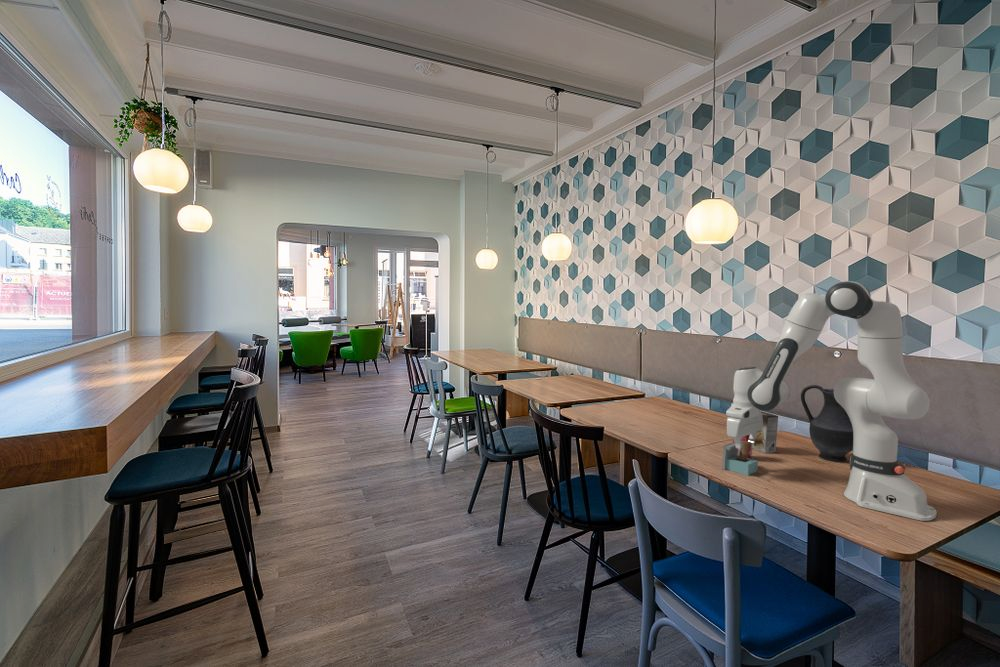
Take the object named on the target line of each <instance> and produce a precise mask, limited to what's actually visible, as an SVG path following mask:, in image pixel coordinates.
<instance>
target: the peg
mask: <svg viewBox="0 0 1000 667" xmlns="http://www.w3.org/2000/svg"><path fill="white" fill-rule="evenodd" d="M749 447H750V442H748V441H743V442H742V448H741V451H740V455H739V459H738V461H742V462H746V459H747V455H748V451H749Z"/></svg>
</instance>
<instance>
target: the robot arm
mask: <svg viewBox="0 0 1000 667" xmlns="http://www.w3.org/2000/svg"><path fill="white" fill-rule="evenodd" d="M900 310H901V309H900V308H899V306H897V305H896V304H894V303H892V302H889V301H883V300H882V301H878V300H874V299H872V297H871V292H870V290H869V289H868V288H867V287H866V286H865V285H864V284H861V283H859V282H857V281H851V280H847V281H841V282H838V283H835V284H834V285H832V286H831V287H830V288H828V290H827V291H826V294H820V293H816V292H808V293H804V294H802V295H800V297H799V298H798V299H797V300H796V302H794V304H793V306H792V308H791V309H790V311H789V313H788V314H787V316H786V319H785V322H784V324H783V326H782V329H781V331H780V334H779V337H778V340H777V342H776V345H775V348H774V350H773V352H772V354H771V356H770V358H769V360H768V362H767V364H766V366H765V367H764V370H763V371H762V370H761V369H760V368H758V367H757V366H746V367H745V366H744V367H741V368H738V369H736V371H735V372H734V375H733V385H732V386H733V387H732V389H733V395H734V396H733V399H732V404H731V406H730V407H729V408H728V409H727V410H726V412H725V415H726V417H727V419H726V434H727V436H728V438H730V439H731V438H732V439H733V438H734V441H735V443H736V448H738V449H740V448H742V443H741V437H744V436H746V435H749V434H750V437H749V439H748V442H750V444H753V443H755V438H756V435H757V432H758V431H760V430H762V428H763V418H762V413H761V412H760V411H764V412H765V411H770V410H773V409H775V408H776V407H777V406H778V405H781V404H782V403H783V402H785V401H786V400H787V399H788V398H789V396H790V395H791V394H790V392H791V388H790V386H789V385H788V383H787V382H786V381H785V380H784V379H785V376H786V375H787V373H788V371H789V370H790V367H791V365H792V364H793V363H794V361H795V360H796V359H797V358H798V357H800V356H801V355H802V354H803V353H806V351H808V350H810V349H811V348H812V347H813V345H814V344H815V343H816V342H817V340H818V339H819V337H820V335H821V333H822V331H823V328H824V327H825V325H826V322H828V320H829V319H830V317H831V316H834V315H837V316H838V315H839V316H840V317H846V318H849V319H854V320H855V321H856V322H857V355H856V356H857V360H858V363H860V365H861V366H863V367H864V368H866V369H868V370H869V371H870V373H871V374H872V376H873V378H867V377H866V378H865V377H861V376H860V377H857V376H856V377H852V376H851V377H844V378H843V377H842V378H840V379H839V380H838V381H837V383H836V384H835V385H834V388H833V389H834V397H835V399H836V401H837V402H838V403H839V404H840V405H841V406H842V407H843V408H844V410H845V411H846V413H847V414H848V416H849V418H850V421H851V424H852V427H853V450H852V452H850V453H851V454H850V457H849V470H850V473H849V478H848V482H847V485H846V487H845V490H844V492H843V495H844V497H845V498H847V499H848V500H850V501H852V502H854V503H855V504H856V505H858V506H859V507H861V508H866V509H870V510H874V511H878V512H883V513H885V514H886V513H887V514H892V515H895V516H900V517H903V518H908V519H912V520H916V521H921V522H928V521H932V520H934V519H936V517H937V515H938V514H937V510H936V509H935V507H933V506H932V505H928V499H927V495H926V492H925V491H924V489H923V488H922V487H921V486H919V485H918V484H916V483H915V482H914V481H912V479H910V478H909V477H908V476H906V475H905V471H906V468H905V467H906V464H905V463H903V464H902V462H900V461H898V446H899V445H898V444H899V438H898V437H899V436H898V435H897V434H896V432H895V431H894V430H893V429H891V428H890V427H889V426H888V425H887V424H886V423H885V421H884V420H883V418H882V416H883V417H887V418H892V419H897V420H919V419H921V418H923V417H924V416H925V415H926V414H927V412H929V410H930V409H929V408H930V406H931V404H930V402H931V401H930V398H929V395H928V394H927V393H926V391H925V390H924V389H922V388H921V387H920V386H919V385H917V383H915V381H914V380H913V379H912V378H911V376H910V374H909V373H908V371H907V369H906V366H905V362H904V349H903V348H904V346H903V345H904V344H903V340H904V337H903V336H904V330H903V321H902V316H901V311H900Z"/></svg>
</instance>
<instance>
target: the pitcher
mask: <svg viewBox="0 0 1000 667" xmlns="http://www.w3.org/2000/svg"><path fill="white" fill-rule="evenodd" d="M811 389H817V390H819V391H821V393H822V395H823V401H824V402H823V406H822V408H821V410H820V412H819V413H818V414H817V416H815V417H814V416H813V415H812V412H811V411H810V409H809V407H808V404H807V402H806V399H805V397H806V392H807V391H809V390H811ZM800 401H801V404H802V407H803V409H804V411H805V413H806V416H807V418H808V421H809V438H810V440H811V442H812V444H813V445H814V446H815V448H816V449H817V450H818V451H819V453H818V457H819V459H822V460H823V461H828V462H833V463H845V462H848V459H847V457H846V456H847V455H848V454H850V453H852V452H853V427H852V424H851V421H850V418H849V416H848V414H847V413H846V411H845V410H844V408H843V407H842V406H841V405H840V404H839V403H838V402H837V401H836V399H835V397H834V388H823V386H820V385H817V384H810V385H807V386H805V387H804V388H803V389H802V391H801V392H800Z"/></svg>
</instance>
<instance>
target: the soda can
mask: <svg viewBox="0 0 1000 667" xmlns="http://www.w3.org/2000/svg"><path fill="white" fill-rule="evenodd" d="M749 437H750V434H749V435H746V436H744V437H741V443H742V442H743V441H748V439H749ZM732 440H733V441H732V443H733V442H735V441H734V438H732ZM752 445H753V444H750V447H749V451H748V455H747V458H749V459H752V455H753V448H752ZM740 451H741V448H740V449H738V456H739V455H740Z"/></svg>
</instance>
